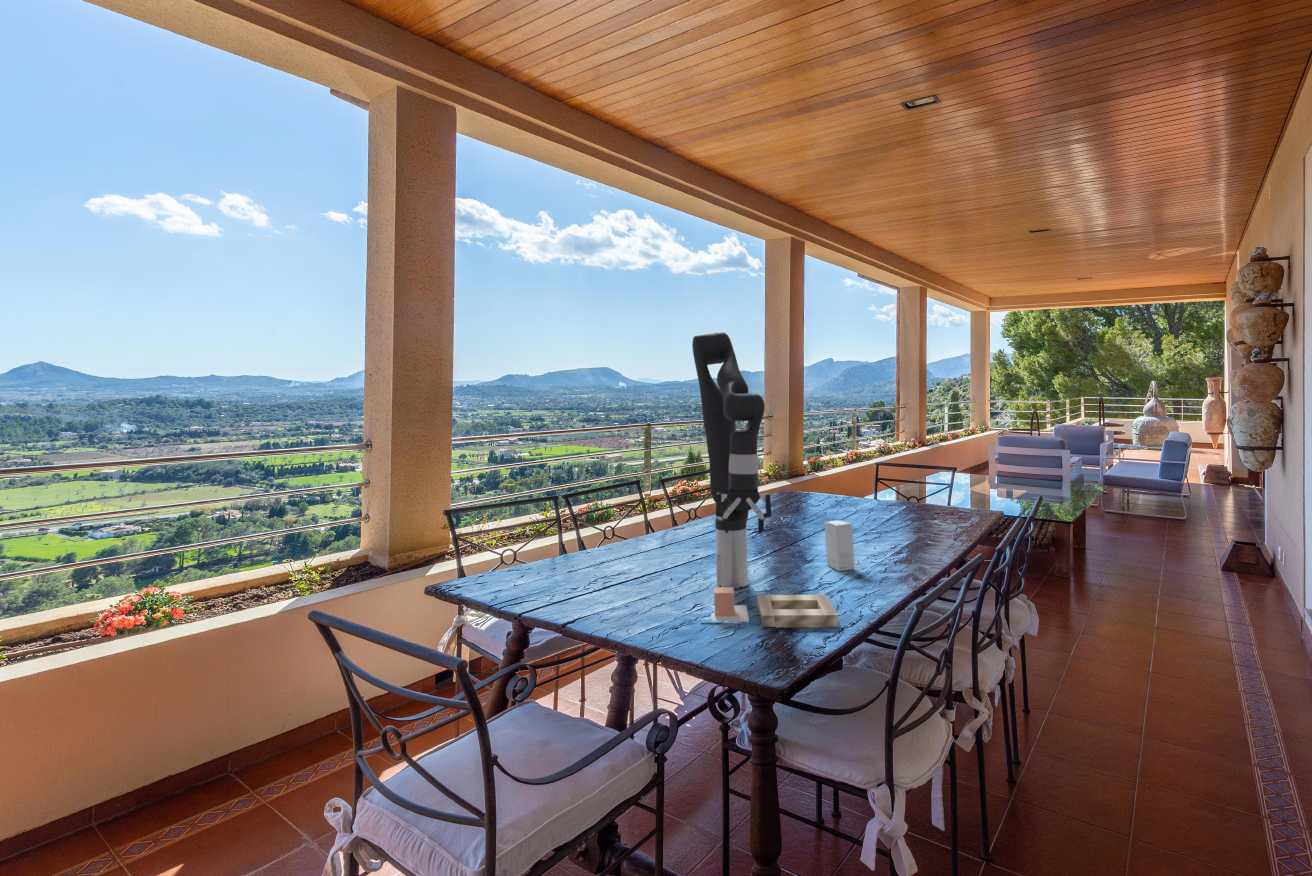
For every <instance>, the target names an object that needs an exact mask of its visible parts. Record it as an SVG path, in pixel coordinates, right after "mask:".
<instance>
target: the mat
mask: <svg viewBox="0 0 1312 876" xmlns="http://www.w3.org/2000/svg"><path fill="white" fill-rule="evenodd" d="M709 606H711V607H713V608H715V604H713V605H709ZM713 610H715V609H713ZM734 611H735V616H715V613H712V614H711V618H713V620H712V621H723V622H724V621H728V622H730V621H731V622H748V623H747V624H750V618H749V613H748V607H747V605H746V604H745V605H742V604H737V605H736V604H734Z"/></svg>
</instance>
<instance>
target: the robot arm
mask: <svg viewBox="0 0 1312 876" xmlns="http://www.w3.org/2000/svg"><path fill="white" fill-rule="evenodd" d="M691 343H692V344H691V345H692V355H693V359H694V361H693V362H694V364H695V370H696V375H697V379H698V386H699V394H700V401H701V412H702V419H703V427H704V433H705V440H706V447H707V448H706V449H707V453H708V459H709V463H708V464H709V485H710V486H709V490H710V494H711V497H712V499H713V501H714V503H716V504H715V516H716V517H715V522H714V523H715V556H716V557H715V559H716V560H715V561H716V587H717V586H722V587H733V588H734V589H741V588H740V587H742V588H745V587H747V586H749V574H748V572H749V571H748V569H749V568H748V539H747V538H748V537H747V536H748V535H747V534H748V532H747V531H748V529H747V522H748V518H749V511H750V510H753V512H754V513H755V514H756V516H758V518H757V533H758V534H759V535H760V534H761V535H762V532H764V530H765V528H764V527H765V519H767V518H771V517H772V505H771V502H772V501H771V495H770V493H769V492H766V493H759V460H758V437H759V432H760V427H761V423H762V420H763V417H764V413H765V407H766V406H765V405H766V404H765V401H764V399H763V397H762V396H761V394H758V393H749V386H748V383H747V382H746V380H745V378H744V377H743V374H742V372H741V371H740V368H739V367H740V366H739V364H738V361H737V357H736V354H735V349H734V346H733V344H732V341H731V338H730V336H729V335H728V334H727V333H726V332H722V331H718V332H710V333H709V332H707V333H700V334H699V333H698V334H696V335H694V336H693V338H692V342H691ZM717 364H718V365H719V364H722V365H721V367H720V368H719V370H718V372H717V376H716V382H715V381H714V379H713V377H712V375H711V373H710V370H709V367H708V366H709V365H717ZM716 383H717V384H716ZM736 422H746V425H745V426H744V428H742V429H737V425H736ZM760 499H761V500H762V502H763V503H765V512H762V510H761V509H760V508H759V505H757V503H758V502H759V500H760Z"/></svg>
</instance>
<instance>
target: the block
mask: <svg viewBox="0 0 1312 876" xmlns="http://www.w3.org/2000/svg"><path fill="white" fill-rule="evenodd" d="M713 591H714V593H713V595H714V599H713V601H714V605H715V616H735V611H734V605H735V588H733V587H717V586H716V587H715V586H714V587H713Z"/></svg>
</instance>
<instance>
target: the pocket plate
mask: <svg viewBox="0 0 1312 876" xmlns="http://www.w3.org/2000/svg"><path fill="white" fill-rule="evenodd" d="M756 596H757V597H756V599H757V610H759V611H758V615H759V618H760V619H759V620H760V624H761V628H762V627H776V628H838V627H839V626H838V625H839V624H838V623H839V621H838V620H839V619H838V617H839V616H838V613H837V612H836V610H835V608H834V606H833V605H832V603H831V602H830V600H829V598H828V596H827V594H762V595H761V594H758V595H756Z"/></svg>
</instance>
